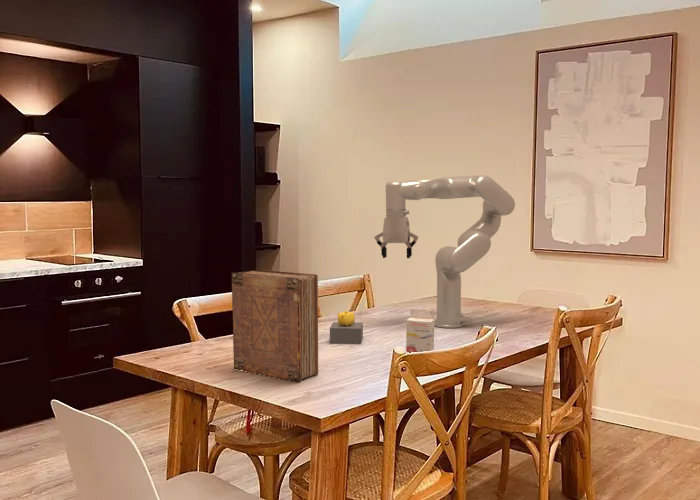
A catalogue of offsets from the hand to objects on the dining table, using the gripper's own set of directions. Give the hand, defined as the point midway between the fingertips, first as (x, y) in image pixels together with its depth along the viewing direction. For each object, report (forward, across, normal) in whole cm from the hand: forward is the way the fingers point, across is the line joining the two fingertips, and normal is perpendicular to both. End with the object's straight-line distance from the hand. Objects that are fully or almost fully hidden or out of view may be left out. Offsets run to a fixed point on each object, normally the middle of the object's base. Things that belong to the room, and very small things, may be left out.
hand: (396, 257), depth 267 cm
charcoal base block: (+28, +12, +27) cm, 40 cm away
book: (+27, +18, +74) cm, 81 cm away
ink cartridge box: (+28, -18, +38) cm, 50 cm away
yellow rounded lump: (+22, +12, +26) cm, 37 cm away
